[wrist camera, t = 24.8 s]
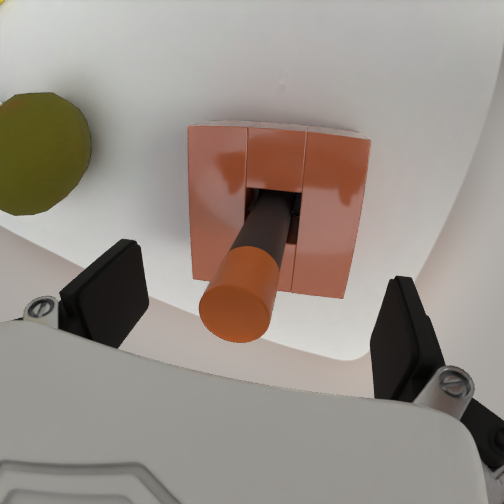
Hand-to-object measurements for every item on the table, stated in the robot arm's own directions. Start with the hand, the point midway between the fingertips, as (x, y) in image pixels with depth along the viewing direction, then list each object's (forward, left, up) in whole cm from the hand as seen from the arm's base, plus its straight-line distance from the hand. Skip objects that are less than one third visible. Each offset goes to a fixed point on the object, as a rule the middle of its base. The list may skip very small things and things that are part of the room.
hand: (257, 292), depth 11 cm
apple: (+20, -4, -13) cm, 24 cm away
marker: (+1, 0, -13) cm, 13 cm away
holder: (+1, 0, -13) cm, 13 cm away
